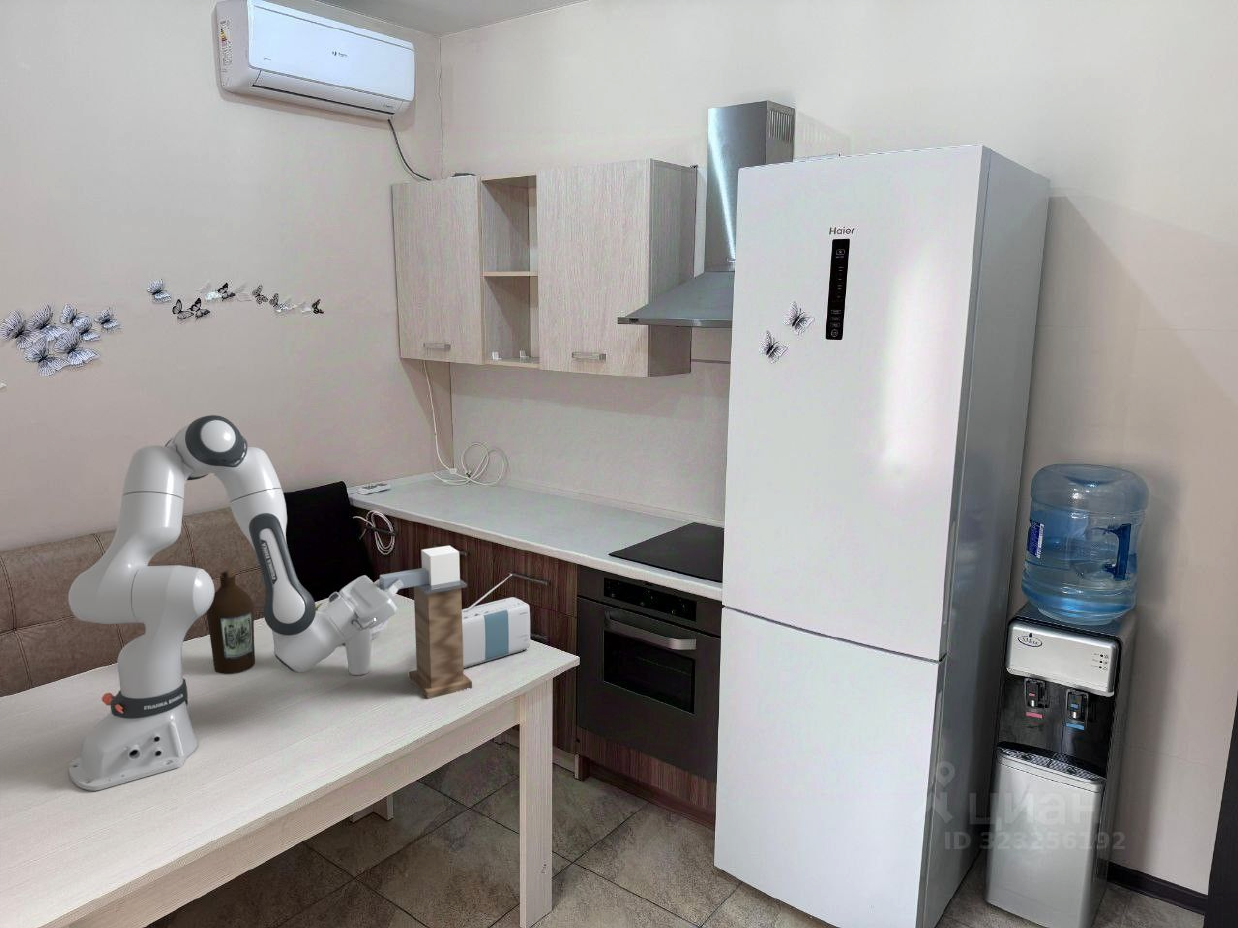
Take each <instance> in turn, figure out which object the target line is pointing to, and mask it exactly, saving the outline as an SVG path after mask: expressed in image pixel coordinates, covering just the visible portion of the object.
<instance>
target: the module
mask: <svg viewBox="0 0 1238 928" xmlns="http://www.w3.org/2000/svg"><path fill="white" fill-rule="evenodd" d="M420 553H421V554H420V555H421V568H415V569H409V570H403V571H398V572H396V571H395V572H390V573H385V574H384V573H383V574H380V575H379V579H380V588H381V589H382V591H384V590H385V589H386V588H387V589H388V588H389V587H390V586H391V585H392V584H393V583H392V582H393V581H395V580H396V579H400V580H401V581H402V582H403V584H404V585H403V587H401V588H400V589H406V588H407V589H408V588H412V587H413V588H414V586H419V585H424V584H430V585H437V584H442V583H448V582H454V581H459V580H460V579H461V578H460V577H461V574H460V573H461V572H460V568H461V567H460V551H459V550H458V549H455V548H454V547H453V546H451V545H449V544H448V545H444V546H437V547H431V548H430V547H429V548H424V549H421V552H420ZM400 589H399V590H400Z"/></svg>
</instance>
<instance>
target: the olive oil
mask: <svg viewBox="0 0 1238 928" xmlns="http://www.w3.org/2000/svg"><path fill="white" fill-rule="evenodd" d="M219 575H220V576H219V581H220V582H219V583H220V586H219V588H218V589H217V590H216V591H215V593H214V599H213V602H212V604H211V606H210V608H209V609H208V610H207V611H206V613H205V614H206V618H207V619H206V620H207V626H208V631H209V632H208V634H209V640H210V646H211V655H212V664H213V670H214V671H215V673H218V674H223V675H234V674H240V673H243V672H245V671H247V670H248V671H249V670H250V669H252V668H253V667H254V665H255V664H256V656H255V655H256V654H255V622H254V621H255V616H254V615H255V614H254V613H255V612H254V602H253V600H252V597H251V596H250V594H249V593H248V592H246V591H245V590H244V589H242V588H241V587H239V586H238V585H237V584H236V575H235V570H234V569H231V568H227V569H226V568H225V569H222V570H221V571H219Z"/></svg>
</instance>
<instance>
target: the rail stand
mask: <svg viewBox="0 0 1238 928" xmlns="http://www.w3.org/2000/svg"><path fill="white" fill-rule="evenodd" d="M467 587H468V584H467V582H465V581H464V580H462V579H461V578H460V580H459V581H454V582H448V583H442V584H437V585H430V584H424V585H419V586H413V605H414V608H413V609H414V631H415V633H414V634H415V636H414V637H415V655H416V658H415V659H416V669H415V670H411V671H410V670H409V671H408V679H409V680H410V681H411V682H412V683H413V684H414V685H415V686H416V688H417V689H418V690H419V691H420V693H422V694H423V695H424V697H425V698H426V699H427V700H429V699H432V698H433V699H434V698H438V697H441V696H445V695H449V694H452V693H457V692H456V691H458V692H461V691H460V690H462V691H465V690H464V689H466V690H468V689H467V688H470V687H472V688H473V680H471V679H470V678H469V677H468V676H467V675H466V674H465V673H464V669H463V637H462V608H463V606H462V602H463V601H462V589H464V588H467ZM470 689H471V688H470Z"/></svg>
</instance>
